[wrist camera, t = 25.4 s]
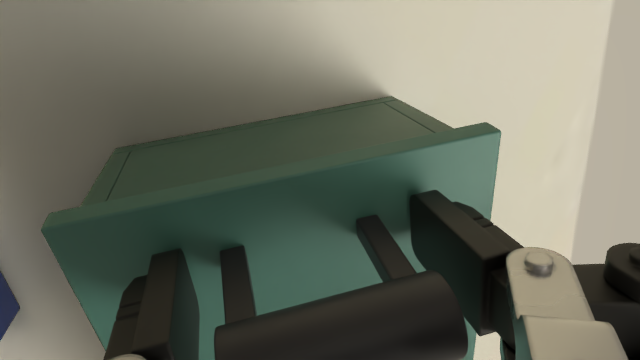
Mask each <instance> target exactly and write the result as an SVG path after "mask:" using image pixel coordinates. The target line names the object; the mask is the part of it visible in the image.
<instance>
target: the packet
mask: <svg viewBox="0 0 640 360" xmlns="http://www.w3.org/2000/svg"><path fill="white" fill-rule="evenodd" d="M19 309H20V306H19V305H18V303H17V301H16V299H15V297H14V295H13V293H12V292H11V290H10V288H9V286H8V284H7V282H6V281H5V279H4V277H3V275H2V273H1V271H0V340H1V339H2V337H3V335H4V334H5V332H6V331H7V329H8V327H9V326H10V324H11V322H12V321H13V319H14V317H15V316H16V314H17V312H18V311H19Z"/></svg>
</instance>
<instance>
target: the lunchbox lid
mask: <svg viewBox="0 0 640 360" xmlns="http://www.w3.org/2000/svg"><path fill="white" fill-rule="evenodd" d="M500 138H501V131H500V130H499V129H497V128H495V127H494V126H492V125H490V124H489V123H486V122H484V123H480V124H475V125H470V126H465V127H460V128H456V129H451V130H446V131H441V132H436V133H432V134H427V135H422V136H417V137H412V138H408V139H403V140H398V141H393V142H388V143H384V144H379V145H374V146H369V147H364V148H360V149H355V150H350V151H345V152H340V153H336V154H331V155H326V156H321V157H316V158H312V159H307V160H302V161H297V162H292V163H288V164H283V165H278V166H273V167H268V168H264V169H259V170H254V171H249V172H244V173H240V174H235V175H230V176H225V177H220V178H216V179H211V180H206V181H201V182H196V183H192V184H187V185H182V186H177V187H172V188H168V189H163V190H158V191H153V192H148V193H144V194H139V195H134V196H129V197H124V198H120V199H115V200H110V201H105V202H100V203H96V204H91V205H86V206H81V207H76V208H72V209H67V210H62V211H57V212H52V213H50V214H49V215H48V217H47V219H46V220H45V222H44V224H43V226H42V228H41V231H42V233H43V235H44V237H45V239H46V241H47V243H48V244H49V246H50V248H51V250H52V252H53V254H54V256H55V258H56V259H57V261H58V263H59V265H60V267H61V269H62V271H63V272H64V274H65V276H66V278H67V280H68V282H69V284H70V285H71V287H72V289H73V291H74V293H75V295H76V297H77V299H78V300H79V302H80V304H81V306H82V308H83V310H84V312H85V313H86V315H87V317H88V319H89V321H90V323H91V325H92V327H93V328H94V330H95V332H96V334H97V336H98V338H99V340H100V341H101V343H102V345H103V347H104V349H105V351H106V349H107V346H108V342H109V339H110V335H111V332H112V329H113V325H114V322H115V321H116V315H117V311H118V309H119V304H120V301H121V297H122V294H123V291H124V290H125V289H126V288H127V287H128V285H129V284H130V283H131V282H132V281H133V279H134V278H136V277H140V276H144V275H148V270H149V265H150V261H151V257H152V255H153V254H158V253H162V252H166V251H171V250H175V249H179V248H181V249H182V251H183V254H184V256H185V260H186V263H187V266H188V269H189V272H190V276H191V279H192V282H193V285H194V289H195V292H196V295H197V300H198V305H199V313H200V323H199V360H473V356H474V348H475V340H476V331H475V330H474V329H473V328H472V326H471V325H470V324H469V323H468V321H467V320H466V319H465V318H464V316H463V313H462V310H461V307H460V305H459V302H458V300H457V298H456V296H455V294H454V292H453V290H452V289H451V287H450V285H449V284H448V282H447V281H446V280H445V279H444V277H443V276H442V275H441V274H439V273H438V272H437V271H434V270H427V271H426V270H425V268H424V267H423V266H422V265H421V263H420V262H419V261H418V260H417V258H416V256H415V254H414V251H413V248H412V244H411V230H410V205H409V201H410V197H411V195H414V194H418V193H422V192H427V191H431V190H438V191H439V192H440V193H442V194H443V195H444V196H445V197H446V198H448V199H449V200H450V201H451V202H455V201H457V202H460V203H463V204H465V205H468V206H470V207H473V208H474V209H475V210H477V211H478V212H479V213H481V214H482V215H483V216H484V218H487V219H488V220H490V219H491V211H492V203H493V195H494V186H495V178H496V170H497V162H498V154H499V146H500Z"/></svg>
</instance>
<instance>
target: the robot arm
mask: <svg viewBox="0 0 640 360" xmlns="http://www.w3.org/2000/svg"><path fill="white" fill-rule="evenodd" d="M409 205H410V230H411V244H412V248H413V251H414V254H415V256H416V258H417V260H418V261H419V262H420V263H421V265H422V266H423V267H424V268H425V270H426V271H427V270H434V271H437V272H438V273H439V274H441V275H442V276H443V277H444V279H445V280H446V281H447V282H448V284H449V285H450V287H451V289H452V290H453V292H454V294H455V296H456V298H457V300H458V302H459V305H460V307H461V310H462V313H463V316H464V318H465V319H466V320H467V321H468V323H469V324H470V325H471V326H472V328H473V329H474V330H475V331H476V332H477V334H478V335H479V336H483V335H486V334H489V333H493V332H497V333H498V334H499V335H500V336H501V339H500V353H501V360H640V244H636V243H623V244H618V245H615V246H612V247H611V248H610V249H609V250H608V251H607V256H606V261H605V264H586V265H585V264H584V265H572V264H571V262H570V261H569V260H568V259H567V258H565V257H564V256H562V255H561V254H559V253H557V252H554V251H551V250H548V249H544V248H537V247H526V248H524V247H523V246H522V245H520V244H519V243H518V242H516V241H515V240H514V239H513V238H511V237H510V236H509V235H507V234H506V233H505V232H504V231H502V230H501V229H500V228H499V227H497V226H496V225H493V223H492V222H491V221H490V220H488V219H487V218H484V216H483V215H482V214H481V213H479V212H478V211H477V210H475V209H474V208H473V207H470V206H468V205H465V204H463V203H460V202H457V201H455V202H451V201H450V200H449V199H448V198H446V197H445V196H444V195H443V194H442V193H440V192H439V191H438V190H431V191H427V192H422V193H418V194H414V195H411V197H410V201H409ZM199 323H200V313H199V305H198V300H197V295H196V292H195V289H194V285H193V282H192V279H191V276H190V272H189V269H188V266H187V263H186V260H185V256H184V254H183V251H182V249H181V248H179V249H175V250H171V251H166V252H162V253H158V254H153V255H152V257H151V261H150V265H149V270H148V275H144V276H140V277H136V278H134V279H133V281H132V282H131V283H130V284H129V285H128V287H127V288H126V289H125V290H124V291H123V294H122V297H121V301H120V304H119V309H118V311H117V315H116V321H115V322H114V325H113V329H112V332H111V335H110V339H109V342H108V346H107V349H106V353H105V356H104V360H199Z"/></svg>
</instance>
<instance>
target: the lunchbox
mask: <svg viewBox="0 0 640 360" xmlns="http://www.w3.org/2000/svg"><path fill="white" fill-rule="evenodd" d="M451 129H454V128H452V127H450V126H448V125H446V124H444V123H442V122H441V121H439V120H437V119H435V118H433V117H431V116H429V115H427V114H425V113H423V112H421V111H419V110H418V109H416V108H414V107H412V106H410V105H408V104H406V103H404V102H402V101H400V100H398V99H396V98H394V97H392V96H391V97H386V98H380V99H375V100H370V101H364V102H359V103H354V104H349V105H343V106H338V107H333V108H327V109H322V110H317V111H312V112H306V113H301V114H296V115H290V116H285V117H280V118H275V119H269V120H264V121H259V122H253V123H248V124H243V125H238V126H232V127H227V128H222V129H216V130H211V131H206V132H200V133H195V134H190V135H185V136H179V137H174V138H169V139H163V140H158V141H153V142H148V143H142V144H137V145H132V146H126V147H121V148H116V149H115V150H114V152H113V154H112V155H111V157H110V158H109V160H108V162H107V163H106V165H105V167H104V168H103V170H102V171H101V173H100V175H99V176H98V178H97V180H96V181H95V183H94V184H93V186H92V188H91V189H90V191H89V193H88V194H87V196H86V198H85V199H84V201H83V202H82V204H81V206H86V205H91V204H96V203H100V202H105V201H110V200H115V199H120V198H124V197H129V196H134V195H139V194H144V193H148V192H153V191H158V190H163V189H168V188H172V187H177V186H182V185H187V184H192V183H196V182H201V181H206V180H211V179H216V178H220V177H225V176H230V175H235V174H240V173H244V172H249V171H254V170H259V169H264V168H268V167H273V166H278V165H283V164H288V163H292V162H297V161H302V160H307V159H312V158H316V157H321V156H326V155H331V154H336V153H340V152H345V151H350V150H355V149H360V148H364V147H369V146H374V145H379V144H384V143H388V142H393V141H398V140H403V139H408V138H412V137H417V136H422V135H427V134H432V133H436V132H441V131H446V130H451ZM81 206H80V207H81Z"/></svg>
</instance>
